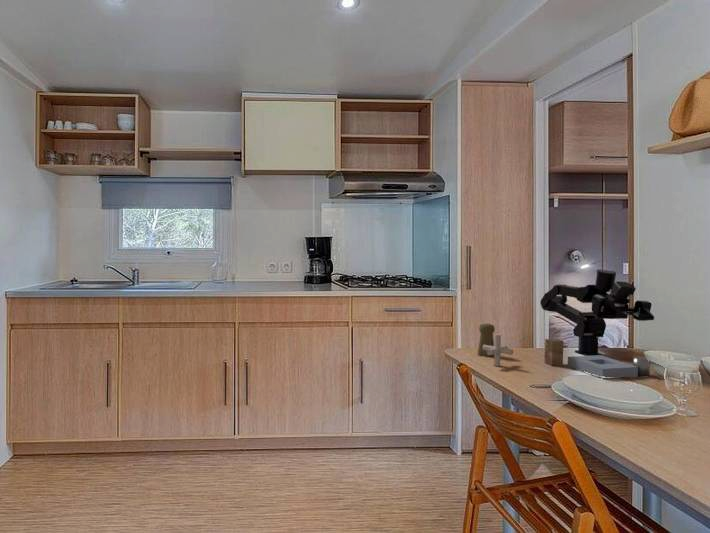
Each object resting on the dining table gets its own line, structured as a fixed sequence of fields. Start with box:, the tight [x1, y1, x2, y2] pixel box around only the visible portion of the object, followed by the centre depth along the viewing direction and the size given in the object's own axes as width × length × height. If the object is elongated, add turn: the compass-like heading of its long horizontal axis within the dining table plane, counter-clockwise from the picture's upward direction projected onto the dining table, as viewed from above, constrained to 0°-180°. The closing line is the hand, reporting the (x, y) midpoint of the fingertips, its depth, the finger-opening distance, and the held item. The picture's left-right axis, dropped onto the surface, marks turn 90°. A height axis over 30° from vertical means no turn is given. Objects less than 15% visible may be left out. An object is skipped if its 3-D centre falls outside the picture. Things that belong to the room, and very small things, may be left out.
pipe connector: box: [482, 333, 514, 367], centre depth 163 cm, size 10×10×10 cm
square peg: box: [544, 338, 564, 367], centre depth 165 cm, size 4×4×8 cm
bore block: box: [567, 354, 639, 378], centre depth 156 cm, size 16×12×3 cm
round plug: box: [632, 356, 651, 377], centre depth 152 cm, size 4×4×5 cm
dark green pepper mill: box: [477, 323, 496, 358], centre depth 178 cm, size 6×6×11 cm
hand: (640, 317), depth 156 cm, fingers open, 9 cm apart
